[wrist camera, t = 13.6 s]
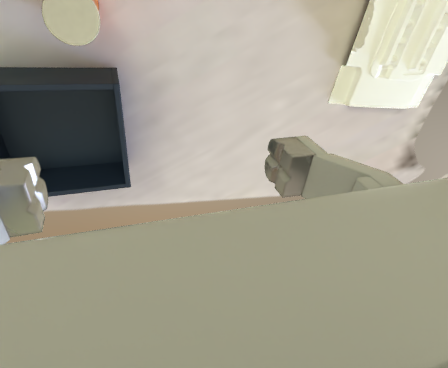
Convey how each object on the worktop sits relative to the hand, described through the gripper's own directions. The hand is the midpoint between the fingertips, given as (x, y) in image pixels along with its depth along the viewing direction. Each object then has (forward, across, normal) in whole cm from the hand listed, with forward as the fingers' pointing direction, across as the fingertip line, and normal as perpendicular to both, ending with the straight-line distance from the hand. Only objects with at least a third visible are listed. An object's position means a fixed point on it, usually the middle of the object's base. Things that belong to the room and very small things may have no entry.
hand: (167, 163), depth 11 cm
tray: (+30, -42, -3) cm, 51 cm away
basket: (+29, +8, +11) cm, 32 cm away
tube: (+29, +4, -2) cm, 30 cm away
